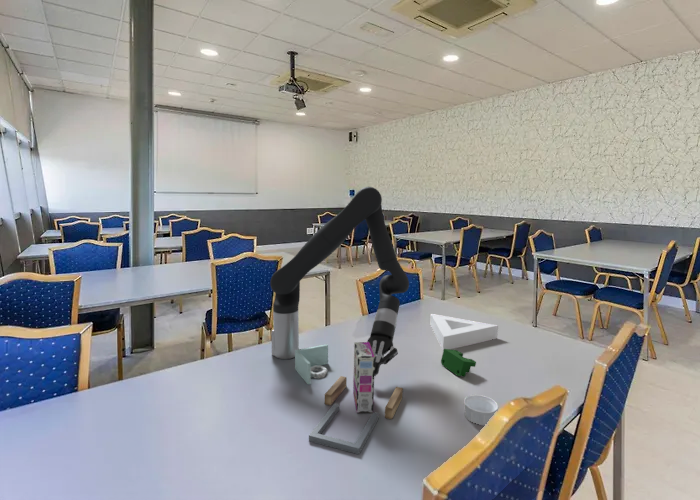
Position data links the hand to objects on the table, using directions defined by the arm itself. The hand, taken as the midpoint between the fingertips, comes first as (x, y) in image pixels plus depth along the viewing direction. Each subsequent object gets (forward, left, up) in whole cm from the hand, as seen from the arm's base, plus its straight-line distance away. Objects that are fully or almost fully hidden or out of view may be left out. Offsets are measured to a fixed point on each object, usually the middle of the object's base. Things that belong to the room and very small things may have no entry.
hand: (372, 375), depth 117 cm
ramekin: (+32, -4, -5) cm, 33 cm away
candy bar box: (0, -9, -5) cm, 10 cm away
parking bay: (0, -22, -4) cm, 22 cm away
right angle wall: (-20, +3, -5) cm, 21 cm away
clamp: (+24, +24, -5) cm, 34 cm away
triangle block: (+19, +51, -5) cm, 55 cm away
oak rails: (0, -8, -4) cm, 9 cm away
